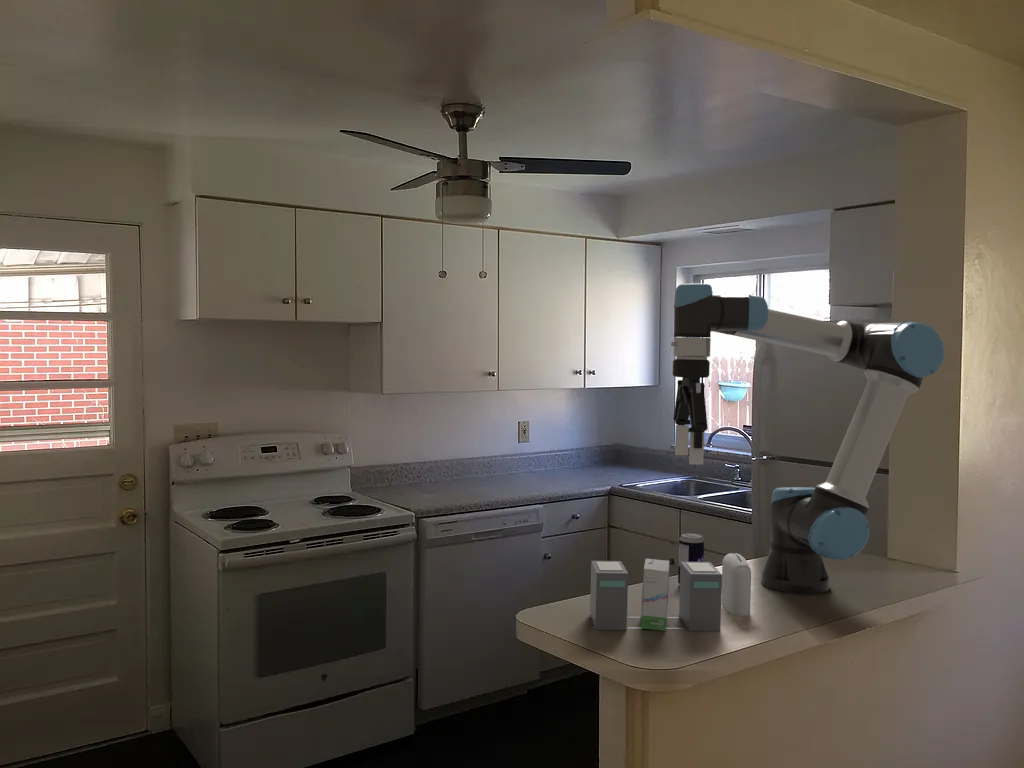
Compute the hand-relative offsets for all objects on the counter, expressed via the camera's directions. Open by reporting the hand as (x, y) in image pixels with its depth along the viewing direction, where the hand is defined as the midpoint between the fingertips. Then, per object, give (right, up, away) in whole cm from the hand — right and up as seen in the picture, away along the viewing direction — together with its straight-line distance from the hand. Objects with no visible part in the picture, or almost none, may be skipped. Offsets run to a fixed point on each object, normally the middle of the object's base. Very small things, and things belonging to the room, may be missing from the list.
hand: (688, 459), depth 179 cm
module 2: (0, -31, -11) cm, 33 cm away
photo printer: (+9, -32, -1) cm, 34 cm away
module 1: (-18, -31, -12) cm, 38 cm away
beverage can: (+4, -31, +18) cm, 36 cm away
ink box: (-9, -31, -12) cm, 35 cm away
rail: (-9, -32, -11) cm, 35 cm away
